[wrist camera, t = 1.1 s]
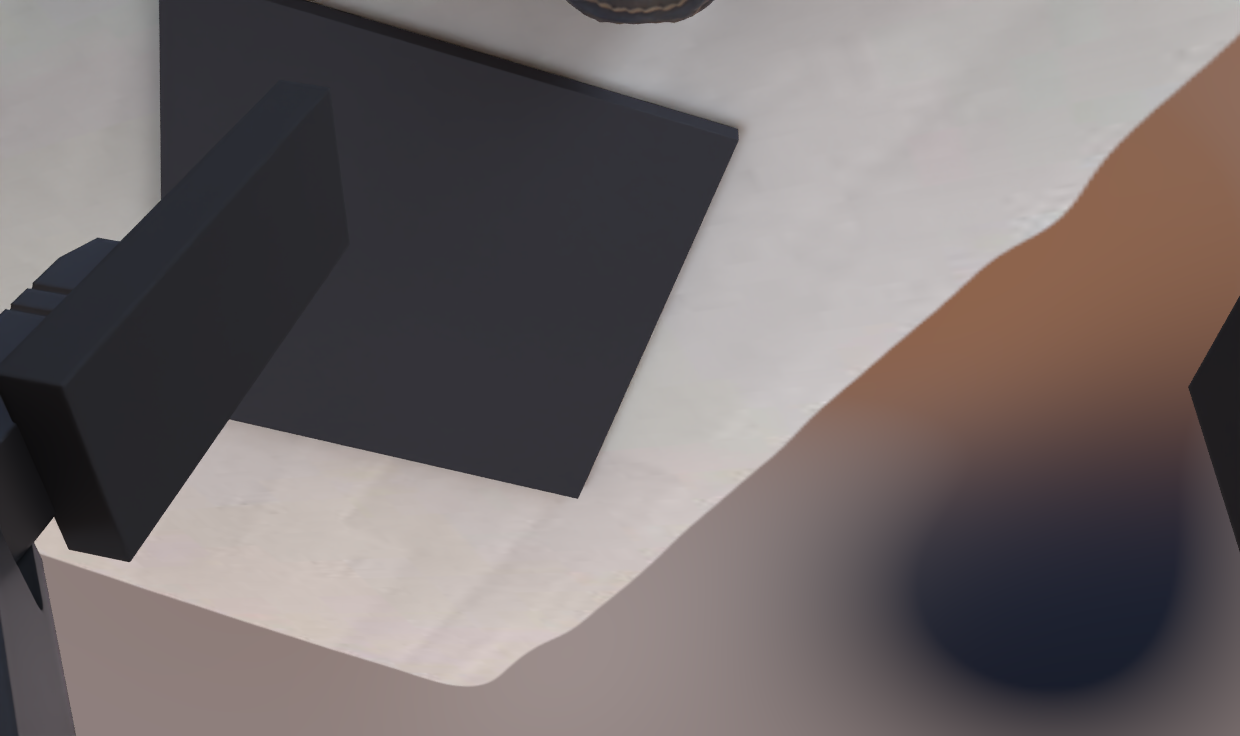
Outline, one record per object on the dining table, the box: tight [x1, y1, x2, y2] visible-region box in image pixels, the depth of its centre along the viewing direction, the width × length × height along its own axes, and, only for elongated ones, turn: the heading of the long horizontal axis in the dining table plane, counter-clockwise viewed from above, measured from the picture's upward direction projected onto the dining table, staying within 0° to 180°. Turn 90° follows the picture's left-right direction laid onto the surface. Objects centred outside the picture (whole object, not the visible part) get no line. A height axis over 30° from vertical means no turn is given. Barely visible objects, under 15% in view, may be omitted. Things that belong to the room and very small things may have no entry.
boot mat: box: [159, 0, 739, 499], centre depth 48 cm, size 22×24×1 cm
